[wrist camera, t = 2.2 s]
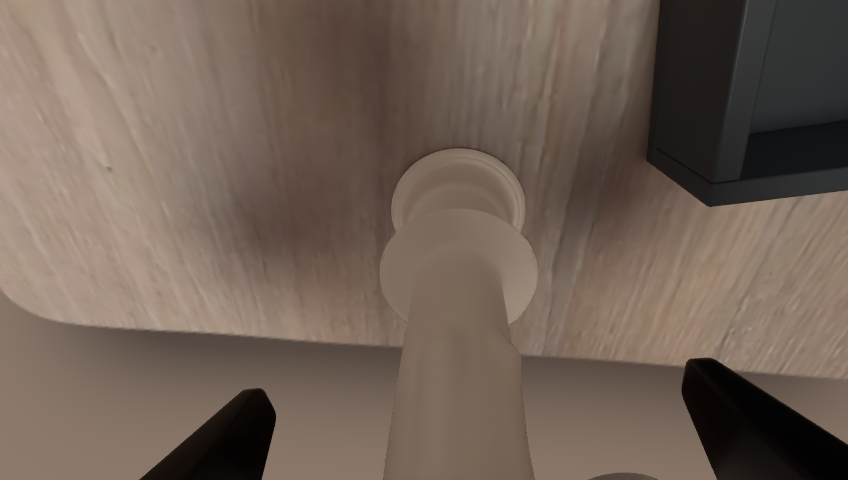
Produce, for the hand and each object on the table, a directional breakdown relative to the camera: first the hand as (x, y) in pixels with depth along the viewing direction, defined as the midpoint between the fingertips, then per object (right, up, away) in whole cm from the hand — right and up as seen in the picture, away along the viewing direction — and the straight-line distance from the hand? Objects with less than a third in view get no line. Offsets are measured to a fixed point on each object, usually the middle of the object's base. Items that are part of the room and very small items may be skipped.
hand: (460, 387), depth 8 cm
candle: (+1, +4, +8) cm, 9 cm away
